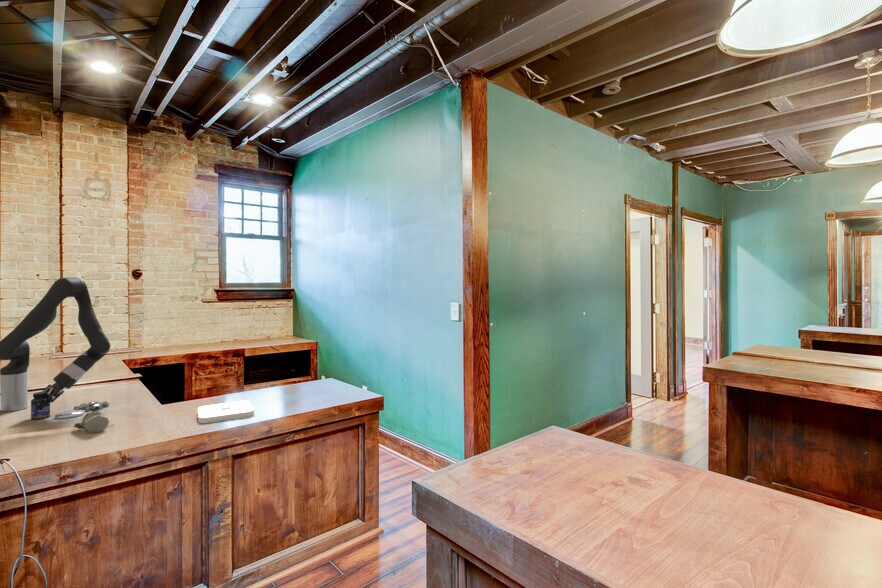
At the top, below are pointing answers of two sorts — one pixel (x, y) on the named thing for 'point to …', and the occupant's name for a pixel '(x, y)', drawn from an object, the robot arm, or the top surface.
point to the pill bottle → (35, 412)
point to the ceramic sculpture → (93, 422)
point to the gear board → (72, 418)
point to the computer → (225, 411)
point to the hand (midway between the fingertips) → (35, 407)
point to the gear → (91, 406)
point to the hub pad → (70, 414)
